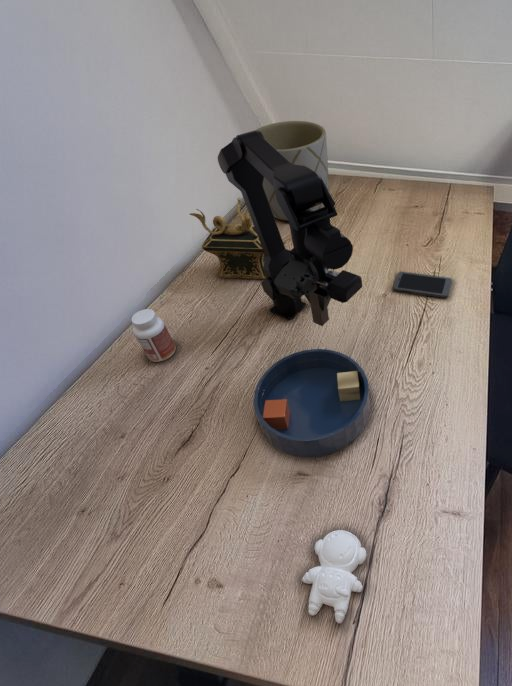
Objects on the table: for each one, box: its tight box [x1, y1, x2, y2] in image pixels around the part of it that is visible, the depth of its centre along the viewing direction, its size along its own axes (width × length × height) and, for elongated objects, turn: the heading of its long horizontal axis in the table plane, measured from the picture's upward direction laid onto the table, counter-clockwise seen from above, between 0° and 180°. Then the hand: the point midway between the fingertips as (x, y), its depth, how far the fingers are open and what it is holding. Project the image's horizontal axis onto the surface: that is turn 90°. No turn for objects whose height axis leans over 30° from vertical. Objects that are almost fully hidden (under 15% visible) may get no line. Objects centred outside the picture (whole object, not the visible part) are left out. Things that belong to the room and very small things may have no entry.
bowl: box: [253, 348, 371, 459], centre depth 86 cm, size 21×21×6 cm
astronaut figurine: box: [301, 529, 367, 624], centre depth 65 cm, size 9×12×3 cm
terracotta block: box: [263, 399, 290, 430], centre depth 84 cm, size 4×4×4 cm
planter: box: [254, 120, 330, 222], centre depth 139 cm, size 23×23×24 cm
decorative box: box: [188, 197, 266, 280], centre depth 117 cm, size 20×10×20 cm, turn 83°
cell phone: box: [392, 271, 453, 299], centre depth 114 cm, size 7×14×1 cm, turn 74°
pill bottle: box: [131, 308, 176, 363], centre depth 98 cm, size 6×6×11 cm
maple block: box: [337, 371, 360, 402], centre depth 89 cm, size 4×4×4 cm
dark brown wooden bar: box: [309, 282, 330, 327], centre depth 91 cm, size 2×2×11 cm
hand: (319, 307), depth 92 cm, fingers closed on dark brown wooden bar, 2 cm apart
